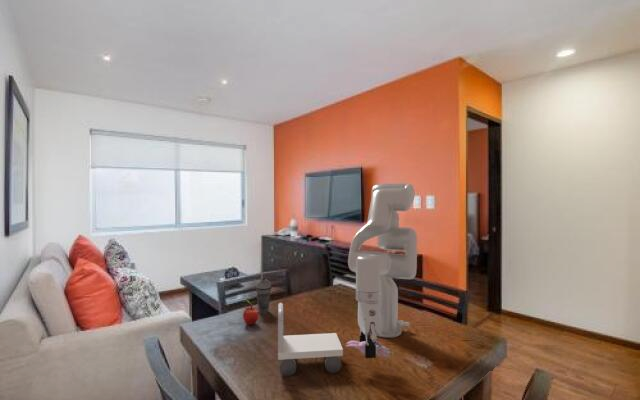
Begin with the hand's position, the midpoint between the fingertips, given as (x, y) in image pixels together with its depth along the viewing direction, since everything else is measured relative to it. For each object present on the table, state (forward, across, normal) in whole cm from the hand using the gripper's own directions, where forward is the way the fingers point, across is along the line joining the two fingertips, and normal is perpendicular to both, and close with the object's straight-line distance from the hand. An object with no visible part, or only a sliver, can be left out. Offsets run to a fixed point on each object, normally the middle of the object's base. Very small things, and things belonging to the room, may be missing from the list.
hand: (367, 351), depth 99 cm
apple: (+6, +41, +40) cm, 57 cm away
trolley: (+6, +6, +18) cm, 20 cm away
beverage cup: (+5, +55, +35) cm, 65 cm away
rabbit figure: (+1, 0, -1) cm, 2 cm away
